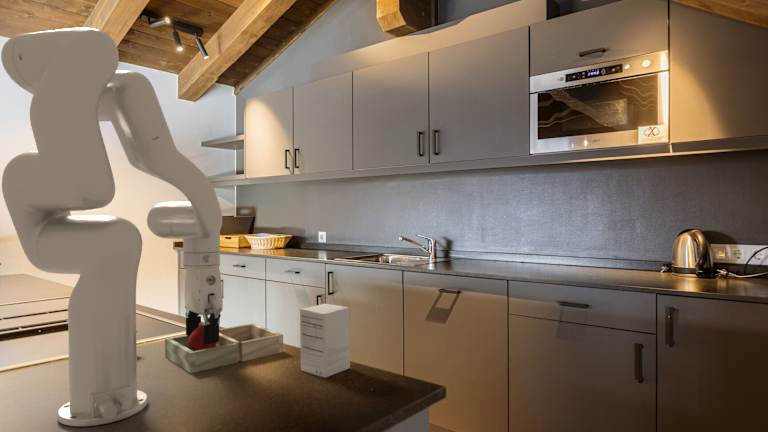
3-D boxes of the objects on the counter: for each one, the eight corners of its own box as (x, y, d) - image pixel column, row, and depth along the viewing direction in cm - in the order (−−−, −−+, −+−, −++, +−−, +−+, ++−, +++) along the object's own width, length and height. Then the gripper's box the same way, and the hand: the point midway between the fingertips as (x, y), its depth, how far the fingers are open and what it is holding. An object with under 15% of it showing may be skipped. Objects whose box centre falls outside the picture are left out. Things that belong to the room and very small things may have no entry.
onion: (221, 355, 108) (220, 319, 108) (209, 363, 102) (208, 326, 102) (196, 355, 108) (195, 319, 108) (183, 363, 103) (182, 325, 103)
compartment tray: (283, 352, 110) (283, 334, 110) (190, 373, 96) (190, 353, 96) (252, 339, 121) (252, 323, 121) (165, 356, 107) (164, 338, 107)
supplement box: (325, 361, 103) (325, 302, 103) (351, 368, 99) (350, 307, 98) (299, 370, 98) (298, 308, 97) (324, 378, 93) (324, 313, 93)
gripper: (235, 261, 101) (236, 343, 101) (203, 256, 114) (203, 329, 114) (200, 264, 96) (200, 350, 96) (170, 258, 109) (170, 334, 109)
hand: (202, 338), depth 105 cm, fingers open, 9 cm apart
